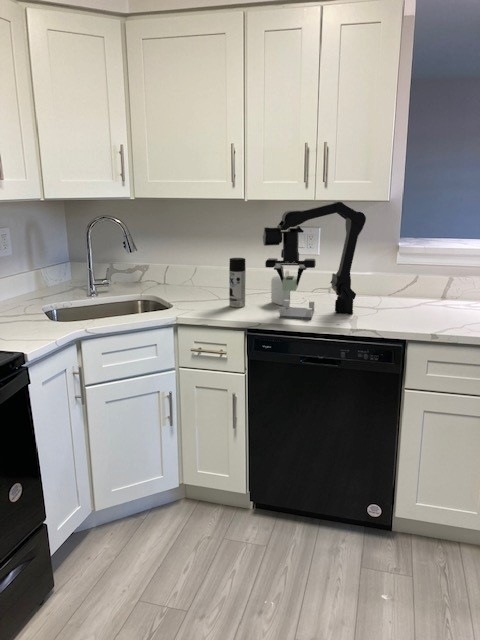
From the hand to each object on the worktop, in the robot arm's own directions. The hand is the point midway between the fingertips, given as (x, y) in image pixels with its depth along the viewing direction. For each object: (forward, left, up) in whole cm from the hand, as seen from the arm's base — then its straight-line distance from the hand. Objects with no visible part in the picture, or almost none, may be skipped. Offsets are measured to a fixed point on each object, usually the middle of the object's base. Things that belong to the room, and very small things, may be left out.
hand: (290, 285), depth 200 cm
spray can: (+23, -9, -12) cm, 27 cm away
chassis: (-3, 0, -12) cm, 12 cm away
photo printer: (+6, -17, -12) cm, 22 cm away
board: (0, 0, -1) cm, 1 cm away
